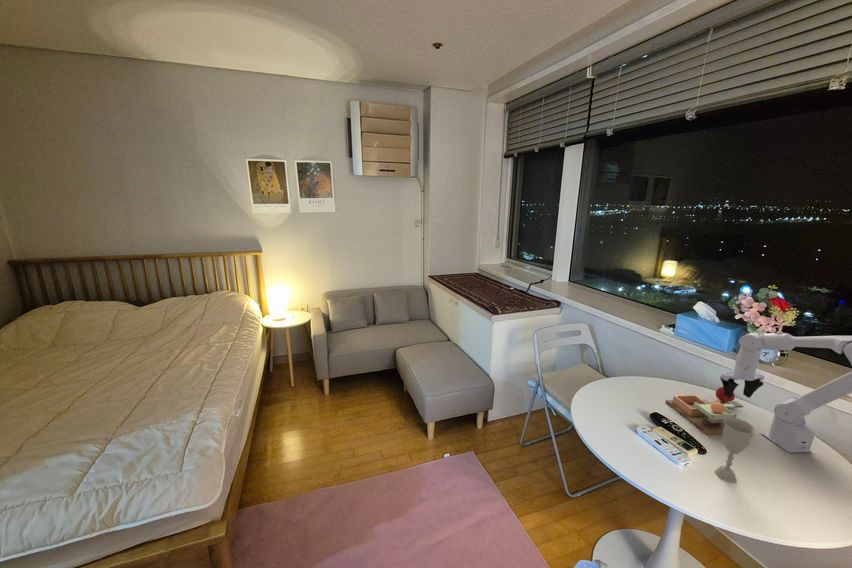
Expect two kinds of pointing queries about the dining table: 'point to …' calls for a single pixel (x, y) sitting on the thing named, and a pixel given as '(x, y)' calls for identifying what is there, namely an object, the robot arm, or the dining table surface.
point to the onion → (721, 395)
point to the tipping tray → (718, 417)
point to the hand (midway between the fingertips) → (736, 396)
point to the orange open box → (681, 403)
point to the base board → (700, 420)
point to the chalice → (734, 444)
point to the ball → (717, 407)
